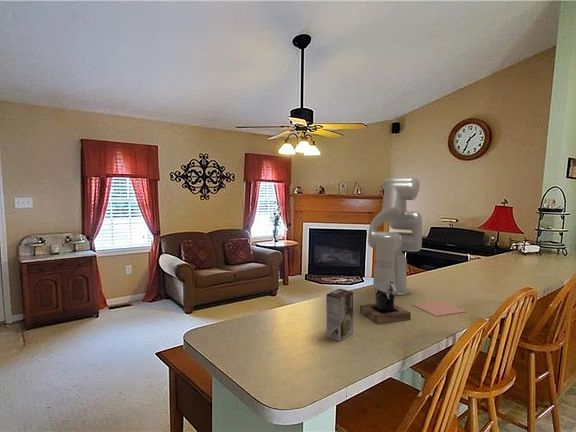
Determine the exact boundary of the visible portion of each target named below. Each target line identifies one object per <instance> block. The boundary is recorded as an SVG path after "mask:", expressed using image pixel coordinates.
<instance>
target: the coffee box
mask: <svg viewBox="0 0 576 432" xmlns="http://www.w3.org/2000/svg"><path fill="white" fill-rule="evenodd" d="M353 334H354V291H352V290H347V289H345V288H344V289H343V288H337V289H335V290H333V291H331V292H329V293H326V338H328V337H330V338H329V339H332V338H333V339H332V340H335V339H336V340H335V341H338V340H339V342H342V341H344V340H345V339H347V338H348V337H349V336H351V335H353Z"/></svg>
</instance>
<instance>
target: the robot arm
mask: <svg viewBox="0 0 576 432" xmlns="http://www.w3.org/2000/svg"><path fill="white" fill-rule="evenodd" d="M382 188H383V199H382V205H381V207H382V208H381V211H380V212H379V213H378V214H376V215H375V216H374V218H373V219H372V220H371V223H370V226H369V228H368V229H369V230H368V238H367V242H368V246H369V248H370V247H371V248H373V249H375V267H374V271H373V281H372V283H373V287H374V290H375V291H374V293H375V297H376V296H377V294H379V290H380V291H382V292H384V293H386V294H387V298H388V299H386V308H393V307H394V305H395V297H396V296H407V295H409V294H410V290H409V289H408V288H407V258H406V255H405V254H404V253H403V252H419V251H421V249H422V246H423V245H422V244H423V220H422V215H421V213H420V212H419V211H414V210H413V211H412V210H411V211H408V210H407V203H408V202H407V201H414V200H415V199H416V198H417V197H418V194H419V192H420V180H419V179H418V178H417V177H412V176H409V177H405V176H404V177H401V176H400V177H397V176H395V177H388V178H385V179H383V181H382ZM386 222H389V223H388V224H389V227H390V228H391V229H393V230H401V231H393V232H392V231H377V230H378V228H379V227H380V226H381V225H382V224H384V223H386ZM403 231H405V232H403ZM406 231H411V232H406ZM389 290H390V291H389ZM389 293H390V295H389Z"/></svg>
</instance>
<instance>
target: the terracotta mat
mask: <svg viewBox="0 0 576 432" xmlns="http://www.w3.org/2000/svg"><path fill="white" fill-rule="evenodd" d="M411 306H412V307H415V308H417V309H419V310H421V311H424V313H425V312H426V313H427V312H428V314H429V315H432V316H434V317H443V316H448V315H449V316H450V315H458V314H463V313H464V314H465V313H467V311H466V310H465V309H461V308H459V307H457V306H453V305H452V304H448V303H447V302H444V301H441V300H435V301H426V302H418V303H412V304H411Z"/></svg>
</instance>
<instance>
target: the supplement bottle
mask: <svg viewBox="0 0 576 432" xmlns="http://www.w3.org/2000/svg"><path fill="white" fill-rule="evenodd" d="M389 291H390V290H389ZM389 295H390V293H389ZM386 299H388V298H387V294H386V293H384V292H382V291H380V290H379V294H377V296H376V295H375V304H376V311H378V312H379V313H381V314H382V313H390V312H393V308H386Z"/></svg>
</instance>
